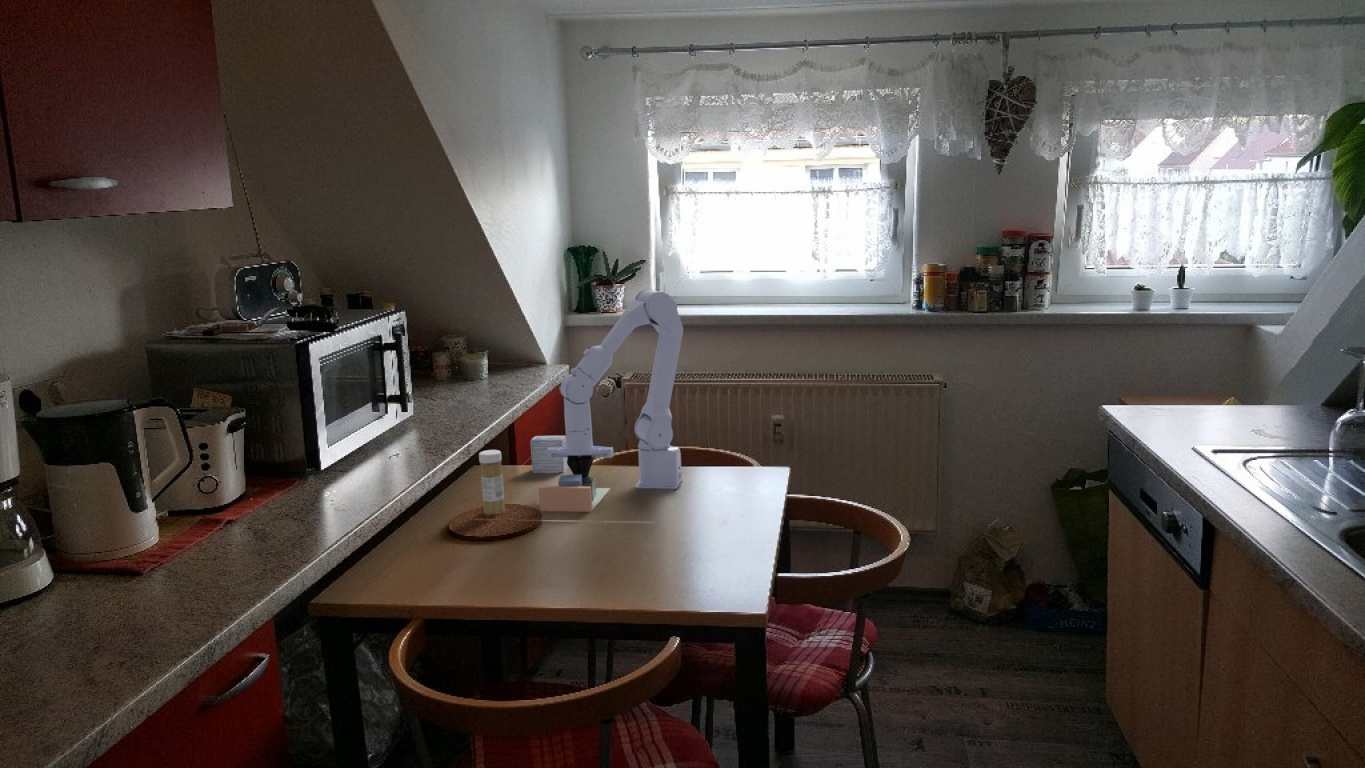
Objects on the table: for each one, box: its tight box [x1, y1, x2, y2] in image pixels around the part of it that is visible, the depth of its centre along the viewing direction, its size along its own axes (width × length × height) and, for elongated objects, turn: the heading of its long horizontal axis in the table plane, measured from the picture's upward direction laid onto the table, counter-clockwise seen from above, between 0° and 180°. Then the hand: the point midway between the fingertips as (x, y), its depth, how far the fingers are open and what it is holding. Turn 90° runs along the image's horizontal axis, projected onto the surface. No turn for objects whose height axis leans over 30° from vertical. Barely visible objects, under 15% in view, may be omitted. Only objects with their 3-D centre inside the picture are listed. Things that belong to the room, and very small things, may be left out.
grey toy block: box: [582, 476, 597, 501], centre depth 212 cm, size 7×4×5 cm
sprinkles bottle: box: [478, 449, 506, 515], centre depth 203 cm, size 5×5×14 cm
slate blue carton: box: [558, 474, 582, 486], centre depth 207 cm, size 4×5×6 cm
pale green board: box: [538, 485, 611, 513], centre depth 211 cm, size 11×17×5 cm, turn 170°
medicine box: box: [529, 435, 569, 474], centre depth 236 cm, size 8×4×9 cm, turn 84°
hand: (582, 488), depth 216 cm, fingers closed, pressing on grey toy block
